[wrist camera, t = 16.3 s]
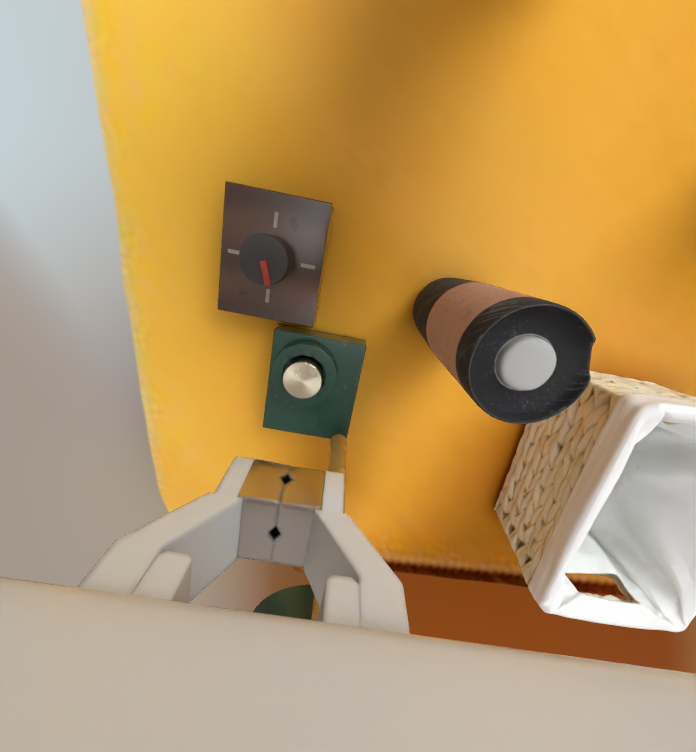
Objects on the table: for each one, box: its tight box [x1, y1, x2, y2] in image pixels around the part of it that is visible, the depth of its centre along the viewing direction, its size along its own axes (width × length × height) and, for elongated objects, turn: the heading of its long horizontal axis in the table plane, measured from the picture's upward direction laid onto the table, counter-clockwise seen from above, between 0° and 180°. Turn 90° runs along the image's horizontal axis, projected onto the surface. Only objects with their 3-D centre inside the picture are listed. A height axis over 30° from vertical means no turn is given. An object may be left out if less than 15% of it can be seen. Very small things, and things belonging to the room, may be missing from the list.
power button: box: [283, 357, 323, 398], centre depth 36 cm, size 4×4×2 cm
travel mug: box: [413, 278, 596, 424], centre depth 30 cm, size 8×8×20 cm
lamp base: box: [263, 324, 366, 439], centre depth 40 cm, size 12×10×4 cm
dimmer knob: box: [239, 234, 294, 286], centre depth 33 cm, size 4×4×4 cm
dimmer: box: [218, 181, 333, 327], centre depth 36 cm, size 12×10×3 cm
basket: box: [494, 371, 696, 632], centre depth 38 cm, size 24×16×15 cm
